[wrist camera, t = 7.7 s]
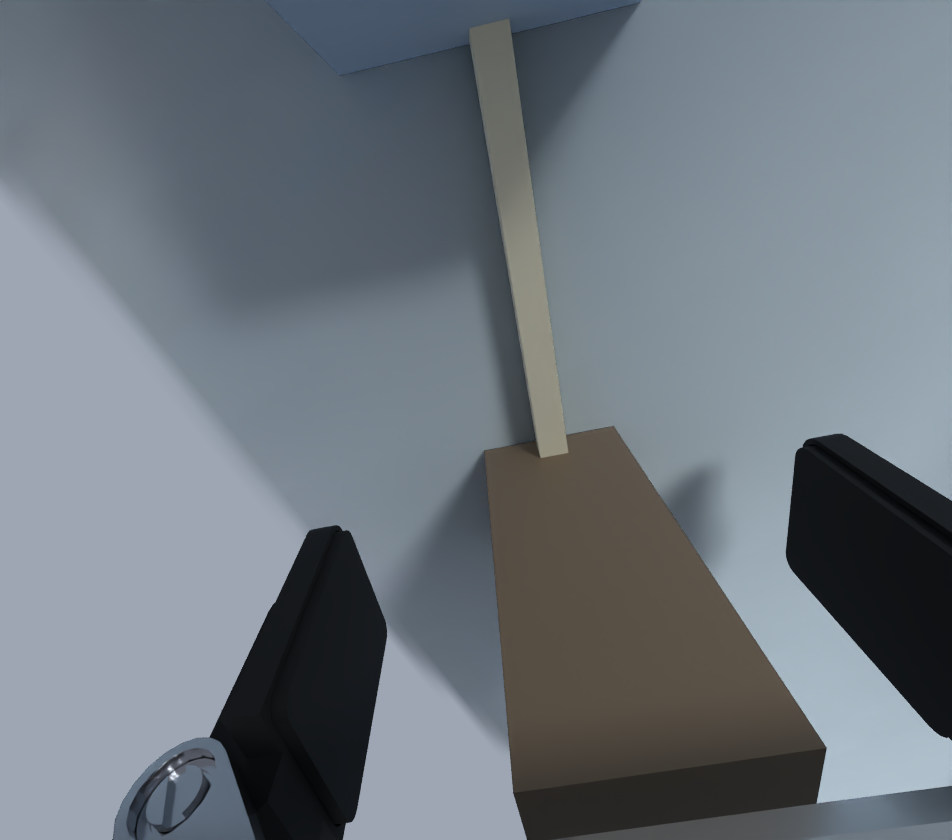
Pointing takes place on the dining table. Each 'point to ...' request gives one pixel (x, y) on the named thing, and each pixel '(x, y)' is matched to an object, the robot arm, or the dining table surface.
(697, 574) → the blocks joined by rod
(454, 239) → the dining table surface
